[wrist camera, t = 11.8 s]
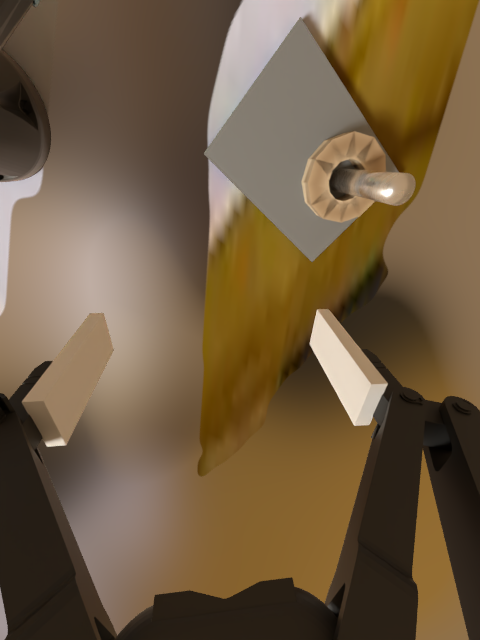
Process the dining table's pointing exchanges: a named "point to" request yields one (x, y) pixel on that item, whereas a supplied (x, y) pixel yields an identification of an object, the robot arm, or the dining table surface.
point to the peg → (374, 185)
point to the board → (289, 138)
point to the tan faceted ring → (322, 163)
